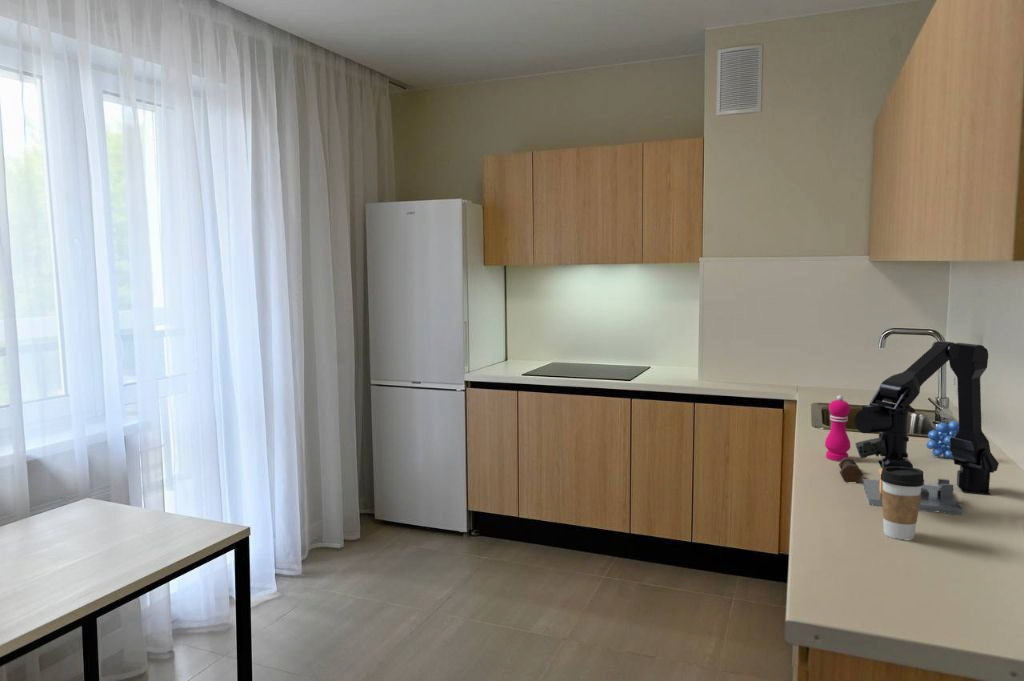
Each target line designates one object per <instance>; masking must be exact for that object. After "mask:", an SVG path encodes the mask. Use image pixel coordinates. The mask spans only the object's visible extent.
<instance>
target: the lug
mask: <svg viewBox="0 0 1024 681" xmlns="http://www.w3.org/2000/svg"><path fill="white" fill-rule="evenodd" d="M878 473H879V474H880V475H879V481H880V488H879V491H880V493H881V494H882V487H883V483H882V480H881V479H880V478H881V473H882V468H878Z"/></svg>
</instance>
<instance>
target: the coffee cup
mask: <svg viewBox="0 0 1024 681" xmlns="http://www.w3.org/2000/svg"><path fill="white" fill-rule="evenodd" d="M881 469H882V468H881ZM880 479H881V480H882V483H883V487H882V505H883V506H882V519H883V521H882V522H883V534H884V535H885V536H886V535H887V536H886V537H888V536H889V538H891V537H892V538H891V539H894V538H898V539H897V540H899V539H911V540H913V539H914V538H915V535H916V534H915V533H916V526H917V522H918V516H919V511H920V510H919V506H920V500H921V487H922V486H923V485H924V481H925V478H924V471H923V470H922V469H920V468H915V467H913V468H909V467H884V468H883V469H882V473H881V478H880V477H879V480H880Z"/></svg>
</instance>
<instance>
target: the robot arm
mask: <svg viewBox="0 0 1024 681" xmlns="http://www.w3.org/2000/svg"><path fill="white" fill-rule="evenodd" d="M948 362H949V367H950V369H951V371H952V372H953V373H954V374H955V376H956V378H957V379H956V380H957V404H958V405H957V406H958V411H957V412H958V413H957V414H958V423H959V431H958V432H957V434H956V435H955V436H954V437H951V438H950V443H951V448H950V451H951V452H952V456H953V457H952V459H953V460H952V461H953V464H954V465H956V466H959V469H958V470H957V473H956V486H957V487H958V488H959V490H960V491H961V492H963V493H971V494H979V495H989V496H990V495H991V494H992V492H991V491H990V482H991V480H990V479H991V473H995V472H997V471H998V469H999V468H998V467H999V465H1000V462H999V461H998V460H997V459H996V458H995V456H994V455H993V454H992V452H991V447H990V440H989V439H988V438H987V436H986V435H985V434H984V432H983V430H982V401H981V400H982V398H981V396H982V395H981V394H982V393H981V377H982V375H983V374H984V373H985V372H986V370H987V369H988V363H989V351H988V349H987V348H986V347H985V346H984V345H981V344H973V343H966V342H964V343H963V342H956V343H955V342H953V341H944V340H943V341H942V340H937V341H934V342H933V343H932V345H931V347H930V348H929V349H928V350H927V351H926V352H924V354H922V355H921V356H920V357H919V358H918V359H917V360H915V361H914V362H913V363H912V364H911V365H910V366H909V367H907V369H906V370H904V371H903V372H899V373H896V374H893V375H891V376H889V377H888V378H886V379H884V380H883V381H882V382H881V383H880V384H879V387H878V389H877V390H876V392H875V394H874V395H873V397H872V398H871V400H870V402H869V403H868V404H863V405H862V407H861V409H860V410H859V411H858V412H857V413H856V415H855V416H854V426H855V427H856V429H857V430H858V432H860V433H862V434H872V433H878V437H876V438H870V439H866V440H862V441H858V442H855V447H856V450H857V452H858V455H859V458H860V459H865V458H867V457H871V456H875V457H879V456H880V457H881V460H880V459H879V460H877V461H878V464H879V466H880V469H883V468H884V467H909V468H914V465H913V464H912V462H911V461H910V460H909V459H908V458H909V453H908V452H907V450H908V442H909V441H910V440H909V439H910V437H909V435H908V430H909V429H908V428H909V414H910V413H916V409H914V407H912V406H911V404H913V403H914V401H915V400H916V399H917V397H918V396H919V395H920V393H921V386H922V385H923V384H924V383H925V382H927V380H928V379H930V378H931V377H932V376H933V375H934V374H935V373H937V371H939V370H940V369H941V367H943V366H944V365H945V364H946V363H948Z"/></svg>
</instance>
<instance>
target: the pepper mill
mask: <svg viewBox="0 0 1024 681" xmlns="http://www.w3.org/2000/svg"><path fill="white" fill-rule="evenodd" d="M828 411H829V414H830V415H829V420H830V421H831V427H830V431H829V433H828V434H827V436H826V438H825V442H824V447H825V448H826V449H827V451H826V452H825V458H826V459H827V458H828V459H827V460H830V459H832V460H831V461H834V460H837V461H836V462H840V461H841V460H842V459H843V458H845V457H846V458H849V453H847V452H848V451H849V450H850V449H851V441H850V437H849V436H848V433H847V429H846V427H847V426H846V425H847V422H848V421H849V420H848V419H849V417H848V414H849V413H850V411H851V406H850V404H849V403H848V402H847V401H845V400H844V396H843V395H841V394H840V395H837V396H836V399H835V400H832V401H831V402H830V403H829V405H828Z"/></svg>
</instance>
